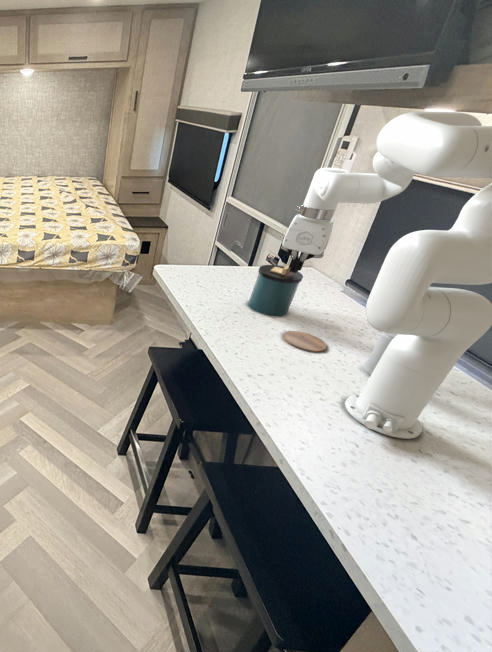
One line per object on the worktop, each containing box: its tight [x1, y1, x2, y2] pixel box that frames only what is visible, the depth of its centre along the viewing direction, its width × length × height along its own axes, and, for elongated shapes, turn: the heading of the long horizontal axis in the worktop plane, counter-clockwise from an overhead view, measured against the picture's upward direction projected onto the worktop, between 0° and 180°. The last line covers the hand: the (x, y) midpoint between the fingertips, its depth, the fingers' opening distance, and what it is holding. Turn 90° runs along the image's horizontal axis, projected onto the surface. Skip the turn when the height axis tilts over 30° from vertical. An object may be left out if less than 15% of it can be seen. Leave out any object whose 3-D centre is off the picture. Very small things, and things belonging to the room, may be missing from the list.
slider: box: [270, 264, 290, 275], centre depth 125 cm, size 4×4×2 cm
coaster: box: [283, 330, 327, 353], centre depth 114 cm, size 10×10×1 cm
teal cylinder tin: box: [247, 264, 304, 318], centre depth 128 cm, size 12×12×13 cm
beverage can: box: [362, 332, 398, 376], centre depth 99 cm, size 5×5×12 cm
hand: (293, 271), depth 123 cm, fingers closed
